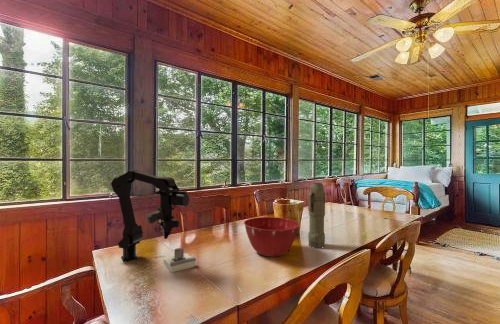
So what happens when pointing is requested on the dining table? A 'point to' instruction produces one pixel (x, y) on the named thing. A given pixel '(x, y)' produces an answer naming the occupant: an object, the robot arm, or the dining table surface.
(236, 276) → the dining table surface
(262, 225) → the mixing bowl
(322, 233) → the thermos
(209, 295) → the dining table surface
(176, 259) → the metal cylinder rod
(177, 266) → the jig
